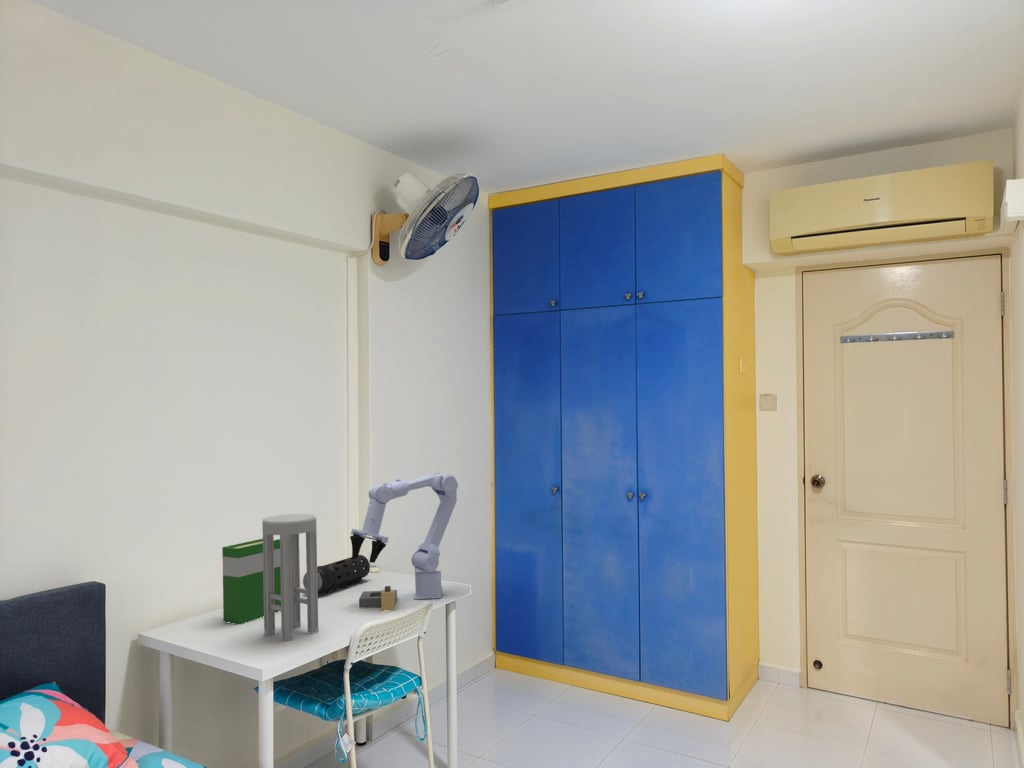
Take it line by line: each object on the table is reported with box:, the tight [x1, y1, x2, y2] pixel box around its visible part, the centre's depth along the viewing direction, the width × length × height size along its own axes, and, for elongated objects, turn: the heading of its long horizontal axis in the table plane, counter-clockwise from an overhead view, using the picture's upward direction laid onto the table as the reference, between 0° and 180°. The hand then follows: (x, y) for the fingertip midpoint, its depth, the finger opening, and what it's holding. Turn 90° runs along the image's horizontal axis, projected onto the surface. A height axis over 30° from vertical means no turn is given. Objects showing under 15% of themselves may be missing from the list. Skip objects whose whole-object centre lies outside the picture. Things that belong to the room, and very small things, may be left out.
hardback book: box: [221, 538, 281, 625], centre depth 243 cm, size 18×7×24 cm, turn 150°
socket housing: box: [358, 589, 398, 609], centre depth 254 cm, size 12×10×3 cm
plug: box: [380, 585, 396, 612], centre depth 247 cm, size 4×4×8 cm
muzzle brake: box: [302, 554, 371, 595], centre depth 277 cm, size 10×28×10 cm, turn 153°
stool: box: [261, 513, 319, 642], centre depth 223 cm, size 16×16×35 cm
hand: (363, 560), depth 248 cm, fingers open, 7 cm apart
